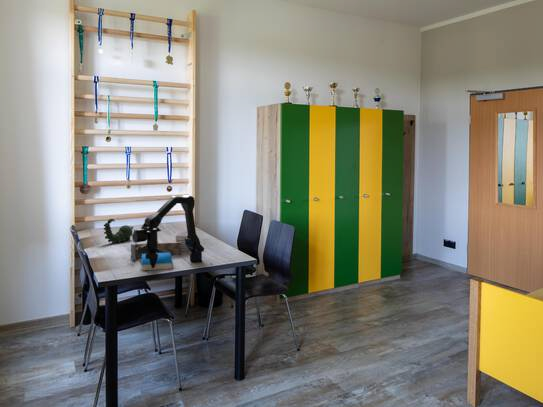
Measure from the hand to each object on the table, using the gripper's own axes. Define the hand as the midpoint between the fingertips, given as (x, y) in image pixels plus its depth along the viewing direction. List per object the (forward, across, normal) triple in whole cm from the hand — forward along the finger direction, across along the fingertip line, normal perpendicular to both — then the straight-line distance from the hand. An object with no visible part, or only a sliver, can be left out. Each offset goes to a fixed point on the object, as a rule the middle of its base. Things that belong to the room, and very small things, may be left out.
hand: (152, 268), depth 252 cm
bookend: (+1, -28, -12) cm, 30 cm away
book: (+2, -14, +2) cm, 14 cm away
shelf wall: (+1, -34, 0) cm, 34 cm away
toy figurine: (+1, -83, -27) cm, 87 cm away
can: (+1, -44, +17) cm, 47 cm away
